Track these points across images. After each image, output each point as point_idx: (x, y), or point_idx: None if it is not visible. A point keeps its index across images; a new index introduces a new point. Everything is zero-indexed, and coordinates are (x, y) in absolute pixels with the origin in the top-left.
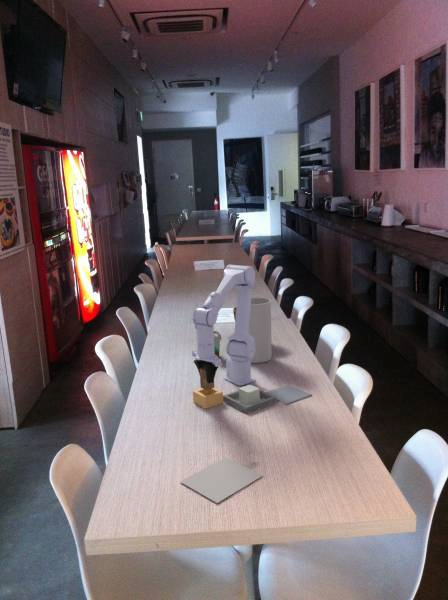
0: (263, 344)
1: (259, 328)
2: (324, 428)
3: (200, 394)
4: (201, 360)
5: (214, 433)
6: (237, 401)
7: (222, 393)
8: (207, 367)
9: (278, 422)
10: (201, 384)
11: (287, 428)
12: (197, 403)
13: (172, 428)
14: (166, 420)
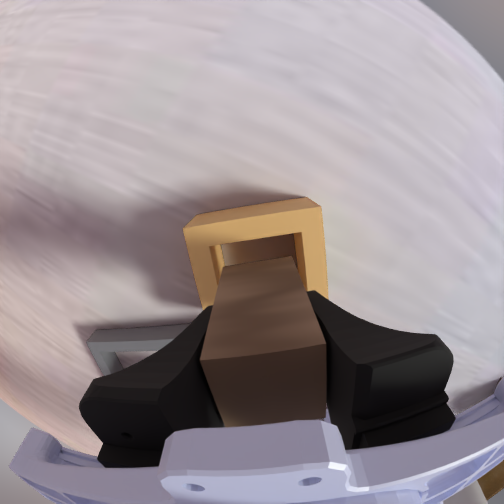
0: None
1: None
2: (18, 392)
3: (242, 224)
4: (355, 434)
5: (14, 166)
6: (146, 349)
7: None
8: (88, 390)
9: (37, 356)
10: (281, 267)
11: (14, 349)
12: (268, 203)
13: (103, 32)
14: (179, 19)
